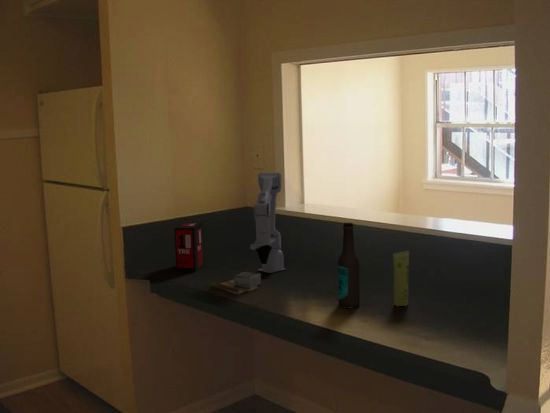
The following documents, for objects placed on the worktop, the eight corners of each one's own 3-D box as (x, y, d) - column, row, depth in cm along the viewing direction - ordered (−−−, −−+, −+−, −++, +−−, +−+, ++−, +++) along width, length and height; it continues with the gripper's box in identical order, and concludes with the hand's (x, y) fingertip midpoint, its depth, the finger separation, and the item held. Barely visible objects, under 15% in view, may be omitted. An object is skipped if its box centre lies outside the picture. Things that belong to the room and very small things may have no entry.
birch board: (233, 281, 258) (233, 277, 257) (258, 288, 246) (258, 283, 246) (212, 286, 251) (212, 282, 250) (236, 294, 239) (236, 289, 238)
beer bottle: (334, 304, 223) (333, 222, 218) (352, 301, 226) (352, 220, 221) (344, 310, 216) (344, 225, 212) (363, 306, 219) (363, 223, 214)
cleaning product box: (195, 272, 276) (193, 228, 274) (176, 271, 278) (174, 228, 275) (204, 263, 293) (203, 222, 290) (186, 263, 294) (184, 222, 291)
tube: (407, 308, 216) (407, 253, 213) (392, 307, 217) (392, 253, 215) (409, 303, 221) (409, 250, 218) (394, 302, 223) (394, 249, 220)
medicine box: (261, 273, 250) (250, 277, 242) (261, 283, 250) (250, 289, 243) (244, 271, 253) (233, 276, 246) (244, 281, 254) (233, 286, 246)
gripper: (266, 227, 263) (267, 258, 265) (244, 233, 252) (245, 265, 254) (279, 229, 259) (280, 260, 261) (257, 235, 248) (258, 268, 250)
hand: (263, 263), depth 257 cm, fingers closed
